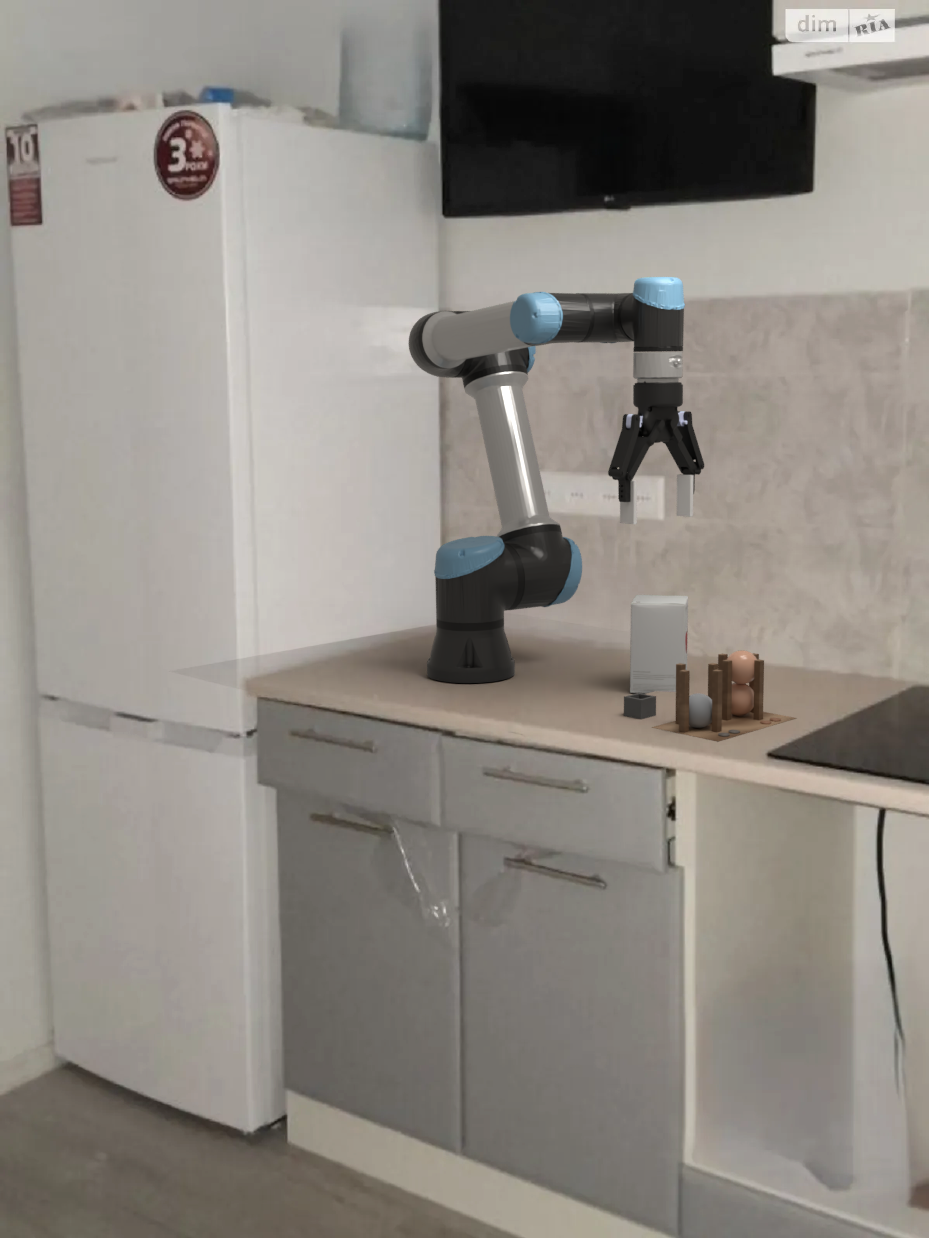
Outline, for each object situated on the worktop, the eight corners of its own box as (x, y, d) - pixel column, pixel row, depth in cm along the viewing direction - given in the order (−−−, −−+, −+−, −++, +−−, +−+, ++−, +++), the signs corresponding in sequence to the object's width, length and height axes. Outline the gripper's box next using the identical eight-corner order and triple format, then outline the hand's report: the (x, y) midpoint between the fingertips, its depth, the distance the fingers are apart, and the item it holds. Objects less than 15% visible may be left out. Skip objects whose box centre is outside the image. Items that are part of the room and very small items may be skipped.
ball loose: (718, 670, 229) (728, 641, 227) (750, 677, 229) (761, 648, 227) (722, 685, 224) (732, 656, 222) (755, 693, 225) (765, 664, 223)
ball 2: (716, 717, 227) (713, 684, 227) (736, 712, 231) (733, 679, 230) (743, 719, 224) (740, 685, 223) (763, 713, 227) (761, 680, 227)
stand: (623, 719, 229) (623, 696, 228) (638, 715, 231) (638, 692, 230) (641, 723, 226) (641, 700, 226) (655, 719, 229) (656, 696, 228)
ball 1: (673, 727, 221) (674, 693, 220) (695, 721, 224) (695, 688, 223) (701, 733, 217) (701, 699, 216) (722, 727, 220) (723, 693, 220)
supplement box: (685, 695, 244) (686, 603, 241) (629, 694, 246) (629, 602, 243) (688, 683, 253) (689, 594, 250) (634, 682, 254) (634, 593, 252)
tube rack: (651, 731, 221) (651, 667, 220) (731, 709, 234) (731, 648, 232) (718, 745, 213) (719, 679, 211) (796, 722, 225) (798, 659, 224)
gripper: (623, 382, 221) (622, 528, 224) (728, 379, 238) (726, 514, 241) (584, 382, 226) (584, 525, 230) (689, 379, 243) (688, 511, 247)
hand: (657, 520), depth 235 cm, fingers open, 13 cm apart
